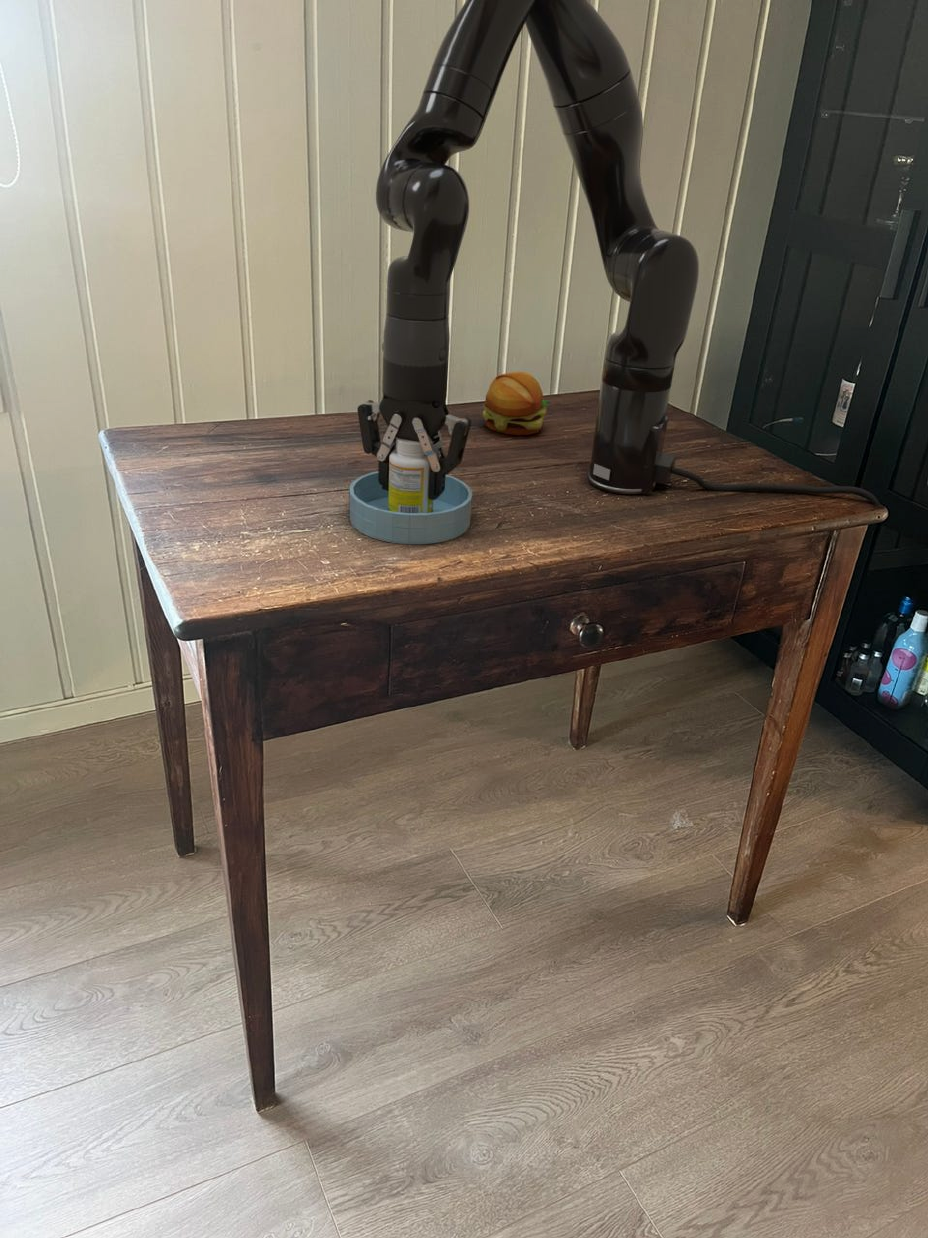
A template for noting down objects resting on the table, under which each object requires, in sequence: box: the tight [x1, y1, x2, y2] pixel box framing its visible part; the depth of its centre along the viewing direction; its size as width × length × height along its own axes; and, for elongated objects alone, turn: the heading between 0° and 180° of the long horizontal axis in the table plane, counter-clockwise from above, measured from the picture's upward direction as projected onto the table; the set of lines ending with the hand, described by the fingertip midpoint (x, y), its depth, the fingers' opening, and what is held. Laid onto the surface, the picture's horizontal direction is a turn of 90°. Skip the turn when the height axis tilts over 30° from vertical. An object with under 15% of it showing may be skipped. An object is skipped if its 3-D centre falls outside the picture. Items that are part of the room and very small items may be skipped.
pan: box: [348, 470, 473, 545], centre depth 117 cm, size 15×15×4 cm
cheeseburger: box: [482, 371, 550, 436], centre depth 150 cm, size 10×11×10 cm
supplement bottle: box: [388, 438, 433, 513], centre depth 115 cm, size 6×6×10 cm
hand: (410, 492), depth 116 cm, fingers closed on supplement bottle, 5 cm apart
